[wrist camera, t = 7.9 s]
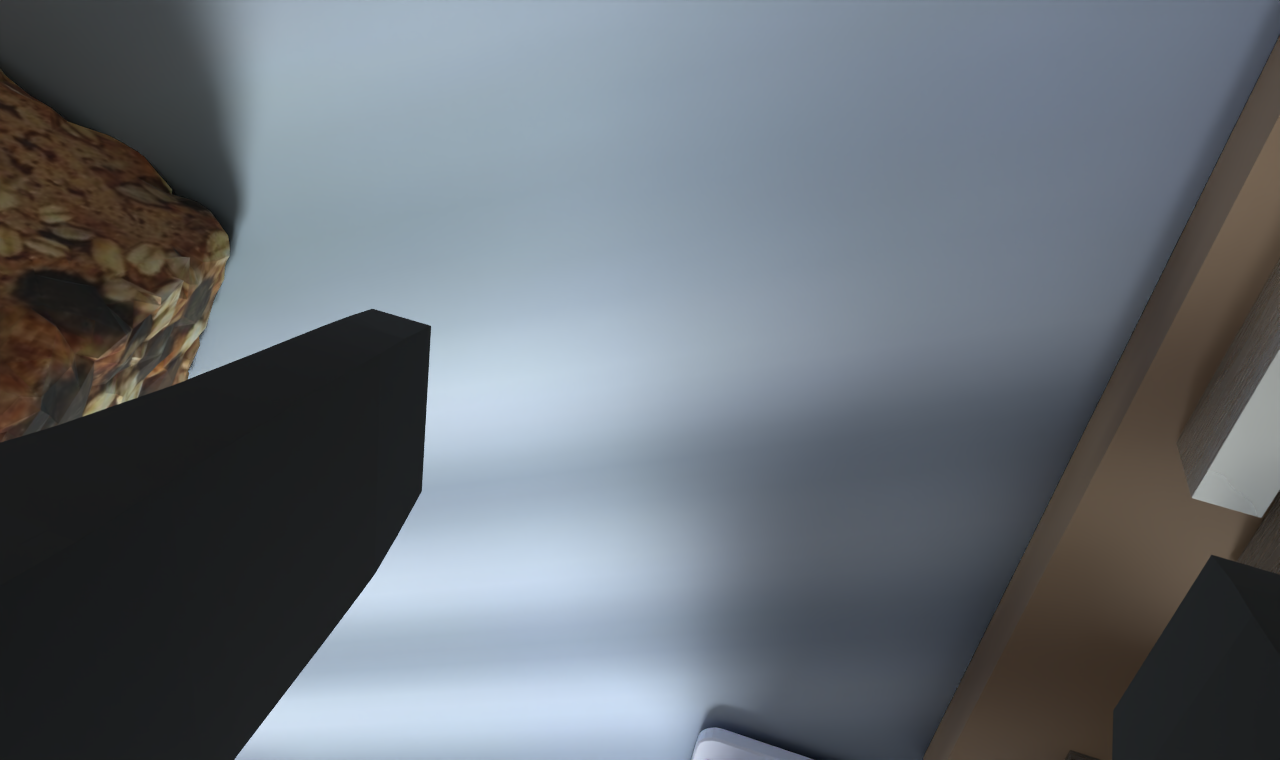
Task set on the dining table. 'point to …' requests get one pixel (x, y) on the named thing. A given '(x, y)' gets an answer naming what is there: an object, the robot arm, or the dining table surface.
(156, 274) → the bread
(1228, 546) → the press base
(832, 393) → the dining table surface
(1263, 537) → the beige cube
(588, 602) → the dining table surface
